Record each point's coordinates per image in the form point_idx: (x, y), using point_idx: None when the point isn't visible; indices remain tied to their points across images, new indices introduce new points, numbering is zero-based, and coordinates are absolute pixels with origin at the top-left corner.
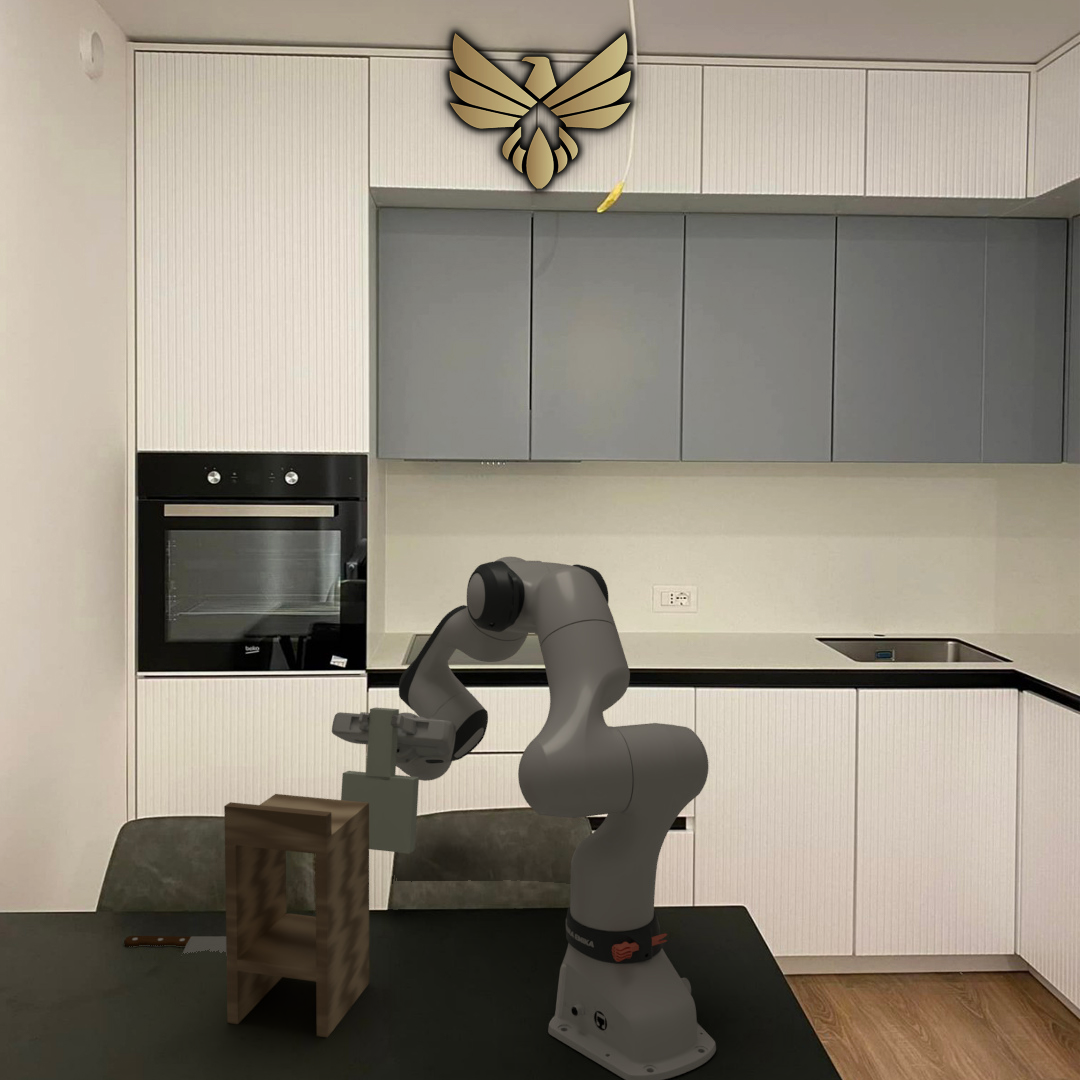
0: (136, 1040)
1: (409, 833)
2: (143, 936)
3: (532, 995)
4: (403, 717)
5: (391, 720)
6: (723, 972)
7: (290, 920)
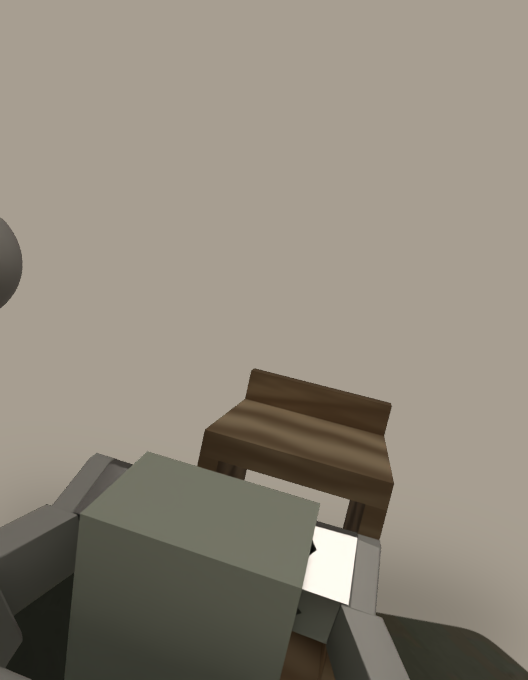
0: (403, 654)
1: None
2: None
3: None
4: (65, 491)
5: None
6: None
7: (298, 669)
